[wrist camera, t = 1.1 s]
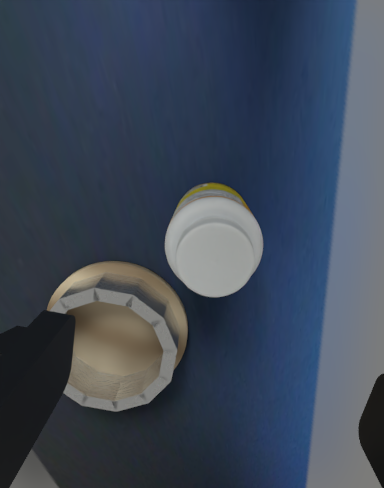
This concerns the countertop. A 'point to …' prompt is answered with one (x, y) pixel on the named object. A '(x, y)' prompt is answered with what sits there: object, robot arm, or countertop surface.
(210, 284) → the supplement bottle
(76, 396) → the white beige low ring
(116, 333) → the beige round plate
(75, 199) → the countertop surface
